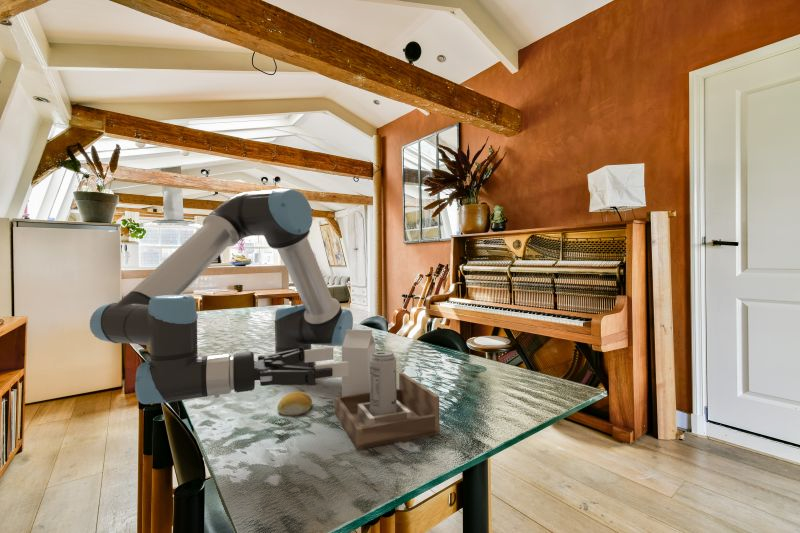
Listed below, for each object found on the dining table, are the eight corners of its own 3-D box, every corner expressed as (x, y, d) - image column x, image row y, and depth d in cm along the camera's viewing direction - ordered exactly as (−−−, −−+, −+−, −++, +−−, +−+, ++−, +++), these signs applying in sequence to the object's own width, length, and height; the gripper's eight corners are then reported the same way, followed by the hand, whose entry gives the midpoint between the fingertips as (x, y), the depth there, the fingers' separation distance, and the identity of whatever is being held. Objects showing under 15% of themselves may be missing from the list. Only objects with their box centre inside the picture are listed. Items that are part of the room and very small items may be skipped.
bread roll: (313, 402, 100) (313, 387, 100) (309, 415, 91) (309, 398, 91) (281, 404, 99) (281, 388, 99) (274, 417, 90) (274, 400, 90)
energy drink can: (399, 422, 83) (398, 355, 83) (372, 425, 82) (371, 356, 82) (393, 412, 89) (393, 349, 89) (368, 415, 88) (368, 350, 88)
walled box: (334, 413, 91) (334, 380, 91) (402, 403, 98) (402, 372, 98) (357, 450, 73) (357, 409, 73) (439, 434, 80) (439, 396, 80)
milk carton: (368, 407, 96) (367, 332, 96) (342, 405, 97) (341, 331, 97) (375, 397, 103) (375, 328, 103) (351, 396, 104) (350, 327, 104)
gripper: (234, 374, 85) (328, 363, 93) (231, 416, 62) (355, 396, 70) (233, 341, 85) (327, 333, 93) (230, 371, 62) (355, 356, 70)
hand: (340, 360), depth 82 cm, fingers open, 13 cm apart
